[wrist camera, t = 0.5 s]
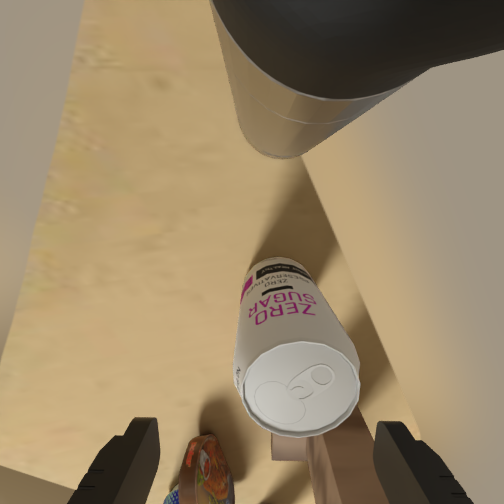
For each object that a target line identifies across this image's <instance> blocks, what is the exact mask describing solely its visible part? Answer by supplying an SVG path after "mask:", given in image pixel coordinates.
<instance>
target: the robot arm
mask: <svg viewBox="0 0 504 504" xmlns="http://www.w3.org/2000/svg"><path fill="white" fill-rule="evenodd" d="M209 2H210V6H211V10H212V14H213V18H214V22H215V26H216V29H217V33H218V37H219V41H220V45H221V49H222V54H223V58H224V62H225V66H226V70H227V74H228V78H229V83H230V87H231V91H232V95H233V99H234V103H235V108H236V112H237V116H238V120H239V124H240V127H241V129H242V132H243V134H244V136H245V137H246V139H247V140H248V142H249V143H250V144H251V145H252V146H253V147H254V148H255V149H256V150H257V151H259V152H261V153H262V154H264V155H266V156H269V157H272V158H277V159H288V158H294V157H297V156H299V155H302V154H303V153H305V152H308V151H309V150H310V149H312V148H313V147H315V146H316V145H318V144H319V143H321V142H322V141H324V140H325V139H327V138H328V137H329V136H331V135H333V134H334V133H335V132H337V131H338V130H340V129H341V128H343V127H344V126H346V125H347V124H349V123H350V122H352V121H353V120H355V119H356V118H358V117H359V116H361V115H362V114H364V113H365V112H366V111H368V110H369V109H371V108H372V107H374V106H375V105H376V104H378V103H379V102H381V101H382V100H384V99H385V98H387V97H388V96H390V95H391V94H393V93H394V92H396V91H397V90H399V89H400V88H401V87H403V86H404V85H406V84H407V83H409V82H410V81H412V80H413V79H414V78H416V77H417V76H419V75H420V74H422V73H424V72H425V71H427V70H428V69H430V68H432V67H436V66H439V65H443V64H447V63H452V62H457V61H461V60H465V59H470V58H474V57H478V56H482V55H486V54H490V53H493V52H497V51H500V50H504V0H209ZM159 460H160V442H159V432H158V422H157V419H156V418H150V417H135V418H134V419H133V420H132V421H131V423H130V424H129V426H128V428H127V430H126V431H125V433H124V435H123V436H116V435H115V436H114V437H113V438H112V439H111V440H110V441H109V442H108V443H107V444H106V445H105V446H104V447H103V448H102V449H101V450H100V451H99V453H98V454H97V456H96V458H95V459H94V461H93V462H92V464H91V466H90V467H89V469H88V472H87V473H86V474H85V475H84V477H83V479H82V480H81V482H80V484H79V485H78V489H77V490H75V492H74V493H73V495H72V497H71V498H70V500H69V501H68V503H67V504H145V503H146V500H147V497H148V495H149V492H150V489H151V486H152V484H153V481H154V478H155V475H156V472H157V469H158V465H159ZM373 462H374V467H375V471H376V474H377V477H378V479H379V481H380V483H381V486H382V488H383V490H384V492H385V495H386V497H387V499H388V502H389V504H474V503H473V502H472V500H471V499H470V498H468V497H467V495H466V492H465V491H464V490H463V488H462V487H461V485H460V484H459V483H458V481H457V480H455V479H454V476H453V475H452V473H451V471H450V470H449V469H448V467H447V466H446V465H445V463H444V462H443V460H442V459H441V458H440V456H439V455H438V454H436V453H435V452H434V451H433V450H432V449H431V448H430V447H429V446H428V445H427V444H426V443H424V442H423V441H422V440H415V439H414V438H413V436H412V435H411V433H410V432H409V430H408V429H407V427H406V426H405V425H404V423H402V422H400V421H379V422H378V423H377V428H376V435H375V442H374V449H373Z"/></svg>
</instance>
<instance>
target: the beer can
mask: <svg viewBox="0 0 504 504" xmlns="http://www.w3.org/2000/svg"><path fill="white" fill-rule="evenodd" d="M178 485H179V484H178ZM178 485H176V486H175V487H174V488H173V490H172V492H170V493H169V494H168V495H167V497H166V498H165V500H164V503H163V504H179V496H178Z"/></svg>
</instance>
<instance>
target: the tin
mask: <svg viewBox="0 0 504 504" xmlns="http://www.w3.org/2000/svg"><path fill="white" fill-rule="evenodd" d="M178 496H179V504H235V494H234V484H233V479H232V475H231V472H230V470H229V468H228V465H227V463H226V460H225V458H224V455H223V453H222V450H221V448H220V445H219V443H218V440H217V438H216V437H215V436H214V435H213V434H209V435H205V436H198V437H195V438H193V439H192V440H191V441H190V442H189V444H188V447H187V450H186V453H185V456H184V459H183V463H182V466H181V470H180V474H179V485H178Z"/></svg>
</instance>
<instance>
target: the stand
mask: <svg viewBox="0 0 504 504" xmlns="http://www.w3.org/2000/svg"><path fill="white" fill-rule="evenodd" d="M373 449H374V440H373V438H372V436H371V434H370V431H369V429H368V427H367V425H366V423H365V421H364V419H363V417H362V414H361V412H360V410H359V408H358V406H357V404H356V406H355V407H354V409H353V411H352V413H351V414H350V416H349V417H348V418H346V419H345V420H344V421H343V422H342V423H341V424H339V425H338V426H337V427H336V428H334V429H331V430H329V431H327V432H324V433H322V434H320V435H316V436H309V437H302V438H295V437H287V436H279V435H277V434H275V433H273V432H271V453H272V460H276V461H308V467H309V472H310V477H311V482H312V487H313V493H314V498H315V503H316V504H389V502H388V499H387V497H386V495H385V492H384V490H383V488H382V486H381V483H380V481H379V479H378V477H377V474H376V471H375V467H374V462H373Z"/></svg>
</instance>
